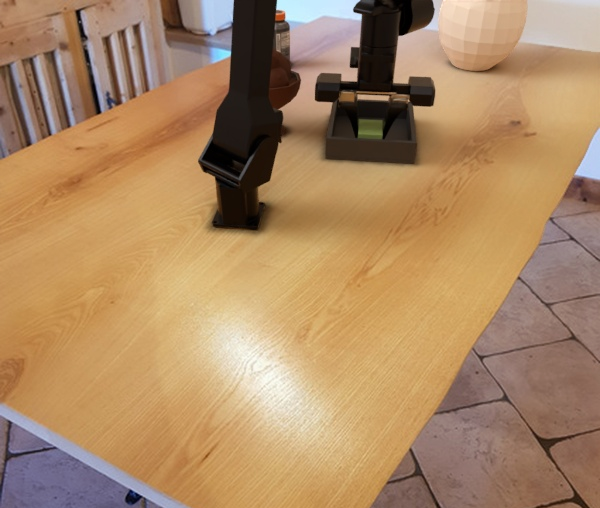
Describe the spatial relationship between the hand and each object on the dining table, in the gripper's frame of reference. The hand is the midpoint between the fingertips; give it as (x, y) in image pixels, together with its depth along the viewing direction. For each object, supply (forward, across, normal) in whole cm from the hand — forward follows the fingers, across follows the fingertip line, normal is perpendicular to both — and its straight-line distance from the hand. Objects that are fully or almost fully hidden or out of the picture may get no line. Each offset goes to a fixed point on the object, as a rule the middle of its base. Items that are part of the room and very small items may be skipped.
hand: (369, 140), depth 93 cm
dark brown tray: (+2, 0, -4) cm, 4 cm away
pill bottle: (+2, +22, -41) cm, 46 cm away
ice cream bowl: (+2, +18, -5) cm, 19 cm away
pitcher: (+2, -23, -47) cm, 52 cm away
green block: (+1, 0, 0) cm, 1 cm away
